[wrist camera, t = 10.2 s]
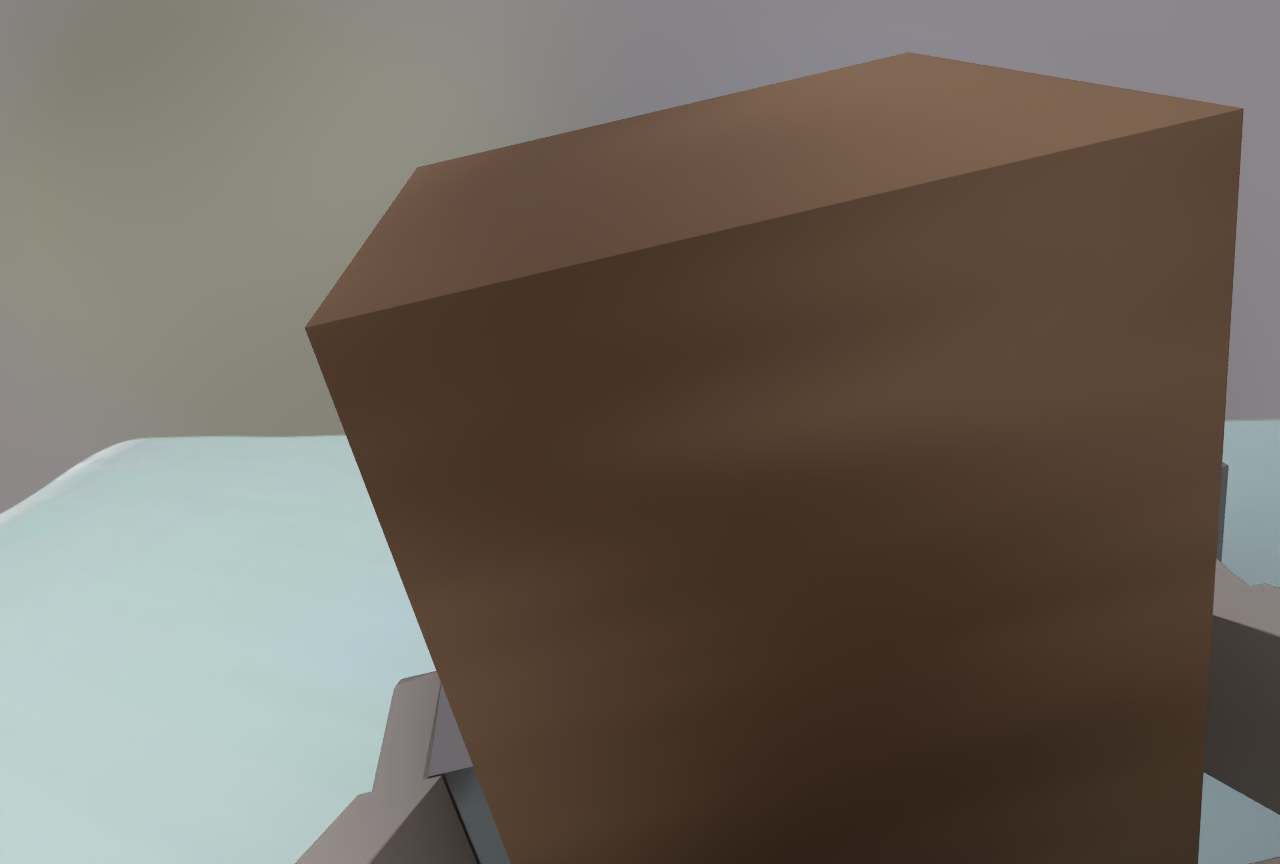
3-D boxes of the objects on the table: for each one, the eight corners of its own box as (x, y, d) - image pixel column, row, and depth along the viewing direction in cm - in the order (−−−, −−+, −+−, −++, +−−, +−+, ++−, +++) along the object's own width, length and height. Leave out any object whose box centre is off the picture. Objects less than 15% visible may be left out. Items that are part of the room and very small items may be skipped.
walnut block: (977, 877, 15) (908, 52, 9) (1173, 1276, 10) (1244, 107, 5) (657, 952, 15) (417, 167, 10) (710, 1382, 10) (305, 328, 5)
